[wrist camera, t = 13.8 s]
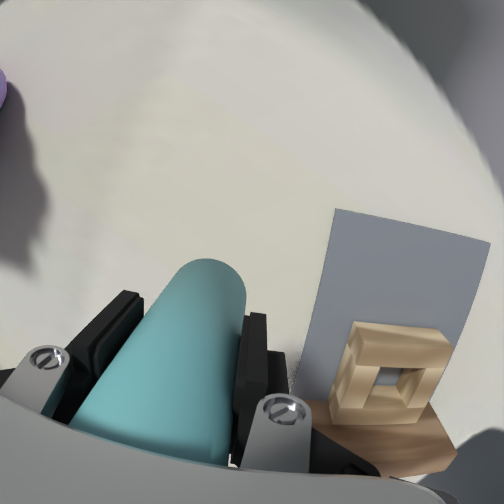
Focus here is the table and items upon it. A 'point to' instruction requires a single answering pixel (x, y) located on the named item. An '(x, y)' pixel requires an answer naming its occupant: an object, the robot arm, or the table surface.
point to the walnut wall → (391, 442)
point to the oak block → (387, 355)
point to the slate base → (386, 290)
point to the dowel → (176, 370)
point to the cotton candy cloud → (2, 87)
